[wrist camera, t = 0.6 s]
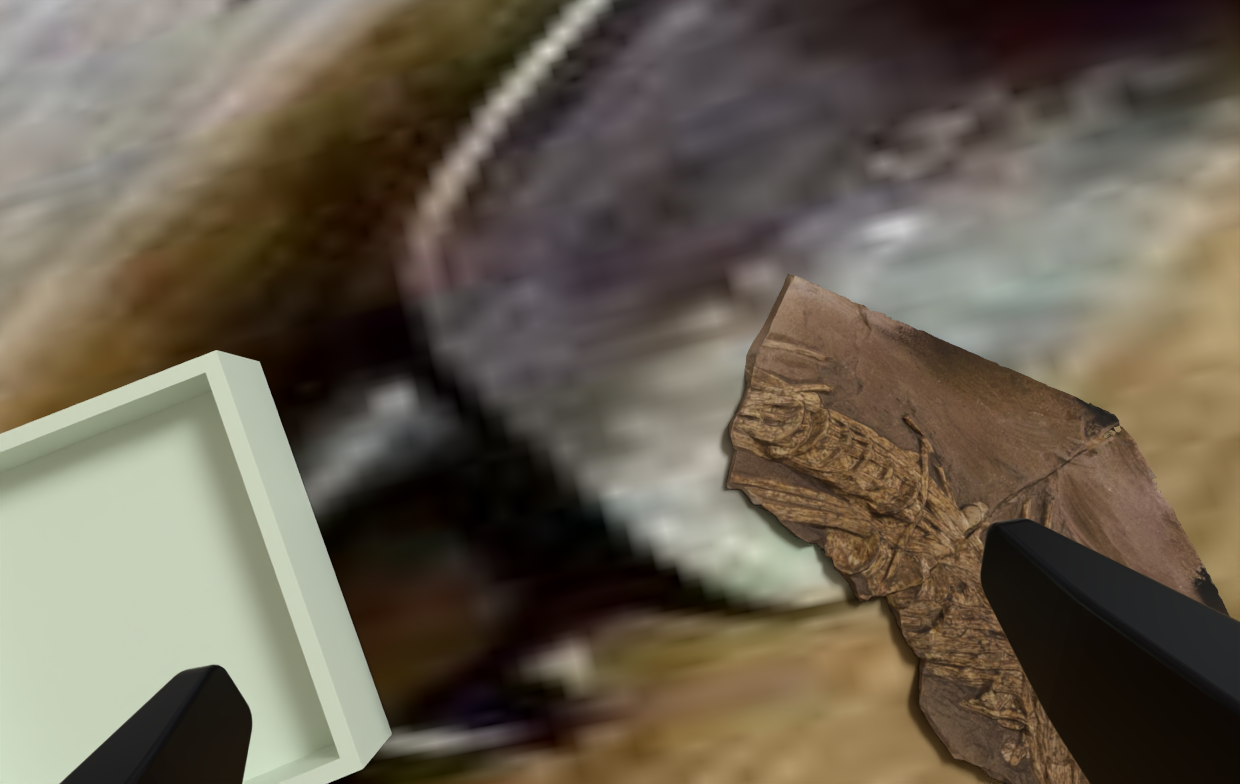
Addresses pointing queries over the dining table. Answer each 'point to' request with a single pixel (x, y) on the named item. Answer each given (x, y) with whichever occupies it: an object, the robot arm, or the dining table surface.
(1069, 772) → the wooden fragment
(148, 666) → the tray
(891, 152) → the dining table surface
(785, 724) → the dining table surface
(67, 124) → the dining table surface
